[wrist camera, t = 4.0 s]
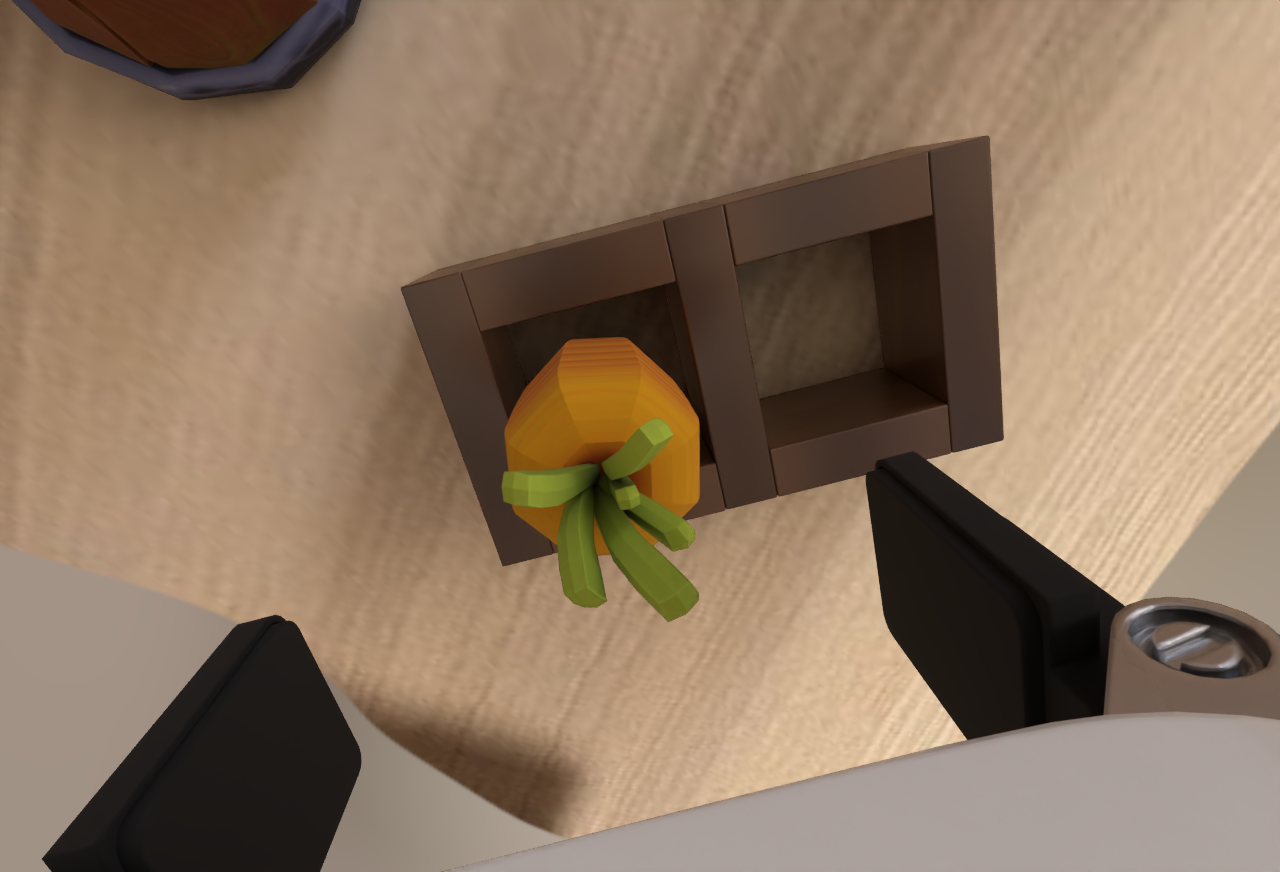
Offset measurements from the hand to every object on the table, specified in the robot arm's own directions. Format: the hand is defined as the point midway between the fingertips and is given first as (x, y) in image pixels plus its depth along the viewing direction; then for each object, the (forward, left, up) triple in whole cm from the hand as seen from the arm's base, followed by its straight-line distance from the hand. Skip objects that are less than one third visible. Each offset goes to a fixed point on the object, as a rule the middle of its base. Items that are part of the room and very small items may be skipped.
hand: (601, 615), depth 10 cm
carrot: (0, 0, -16) cm, 16 cm away
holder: (-4, 0, -16) cm, 16 cm away
